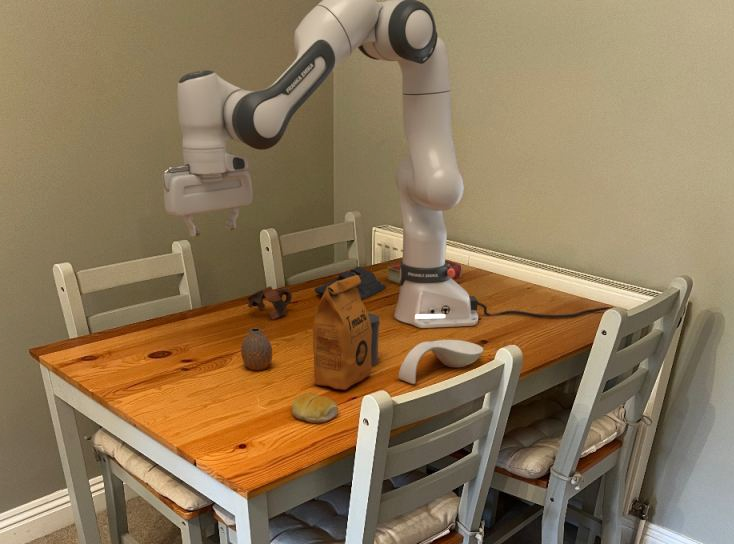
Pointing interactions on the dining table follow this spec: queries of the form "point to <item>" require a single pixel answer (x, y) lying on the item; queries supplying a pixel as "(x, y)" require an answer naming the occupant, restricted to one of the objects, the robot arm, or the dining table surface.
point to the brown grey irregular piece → (271, 300)
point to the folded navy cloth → (365, 288)
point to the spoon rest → (440, 356)
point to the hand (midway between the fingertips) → (213, 232)
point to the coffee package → (341, 336)
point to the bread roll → (314, 408)
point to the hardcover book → (395, 271)
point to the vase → (256, 350)
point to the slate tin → (374, 337)
